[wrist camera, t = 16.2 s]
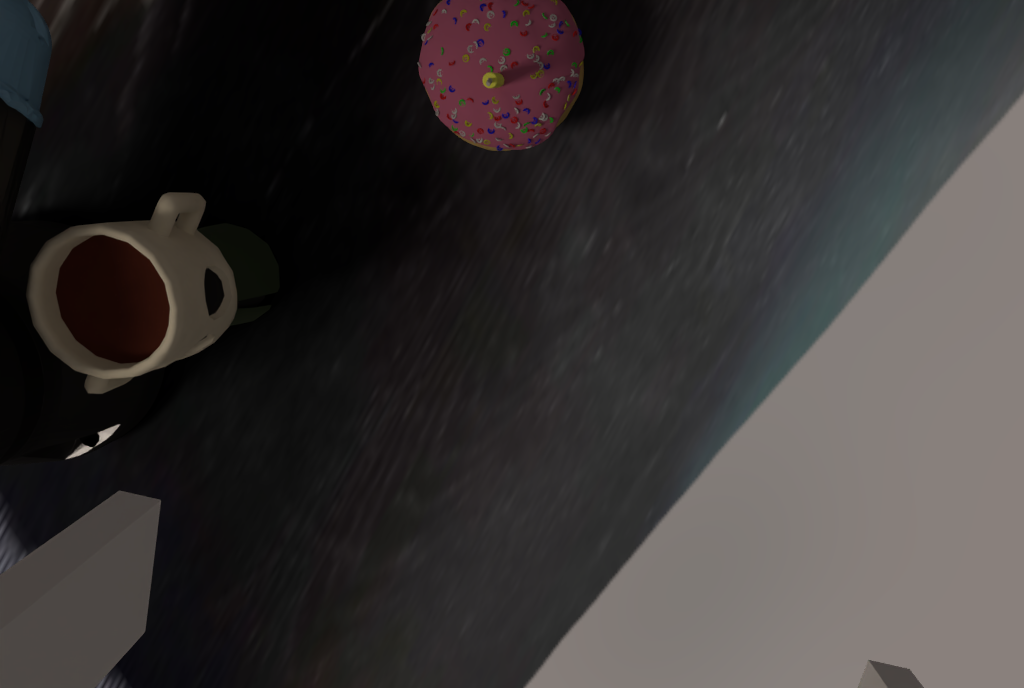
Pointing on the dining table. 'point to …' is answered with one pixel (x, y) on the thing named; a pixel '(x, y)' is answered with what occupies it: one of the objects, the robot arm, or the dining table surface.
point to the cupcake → (502, 69)
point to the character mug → (146, 290)
